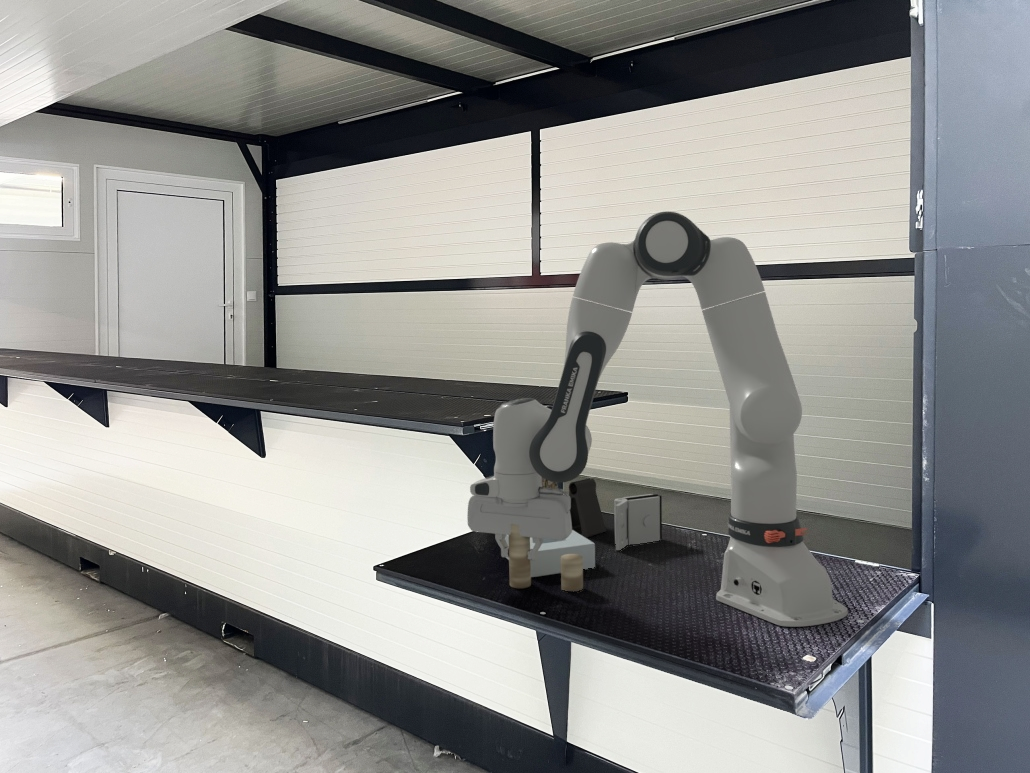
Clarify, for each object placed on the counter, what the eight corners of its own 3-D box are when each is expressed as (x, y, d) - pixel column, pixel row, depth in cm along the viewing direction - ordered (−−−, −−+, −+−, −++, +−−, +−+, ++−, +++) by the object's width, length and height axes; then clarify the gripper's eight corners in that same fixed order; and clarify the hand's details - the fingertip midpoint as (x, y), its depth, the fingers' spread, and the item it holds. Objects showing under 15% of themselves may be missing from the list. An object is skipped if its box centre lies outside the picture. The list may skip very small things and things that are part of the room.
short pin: (586, 590, 147) (586, 558, 146) (566, 594, 145) (566, 561, 145) (577, 584, 151) (577, 552, 150) (558, 587, 149) (557, 555, 149)
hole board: (595, 567, 159) (594, 543, 159) (529, 577, 155) (528, 552, 154) (566, 548, 173) (566, 526, 172) (505, 557, 168) (504, 533, 167)
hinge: (618, 552, 169) (617, 505, 168) (601, 547, 174) (600, 501, 173) (665, 540, 177) (664, 495, 176) (647, 535, 182) (647, 491, 181)
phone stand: (606, 532, 184) (605, 481, 183) (588, 537, 181) (587, 485, 179) (578, 525, 191) (577, 475, 190) (560, 530, 187) (559, 479, 186)
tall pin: (534, 586, 150) (532, 523, 149) (513, 589, 148) (512, 526, 147) (526, 579, 153) (525, 518, 152) (506, 582, 152) (505, 520, 151)
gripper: (576, 485, 148) (577, 559, 149) (477, 478, 156) (479, 547, 157) (564, 493, 142) (565, 569, 143) (462, 485, 150) (464, 557, 152)
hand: (519, 558), depth 150 cm, fingers closed on tall pin, 4 cm apart
